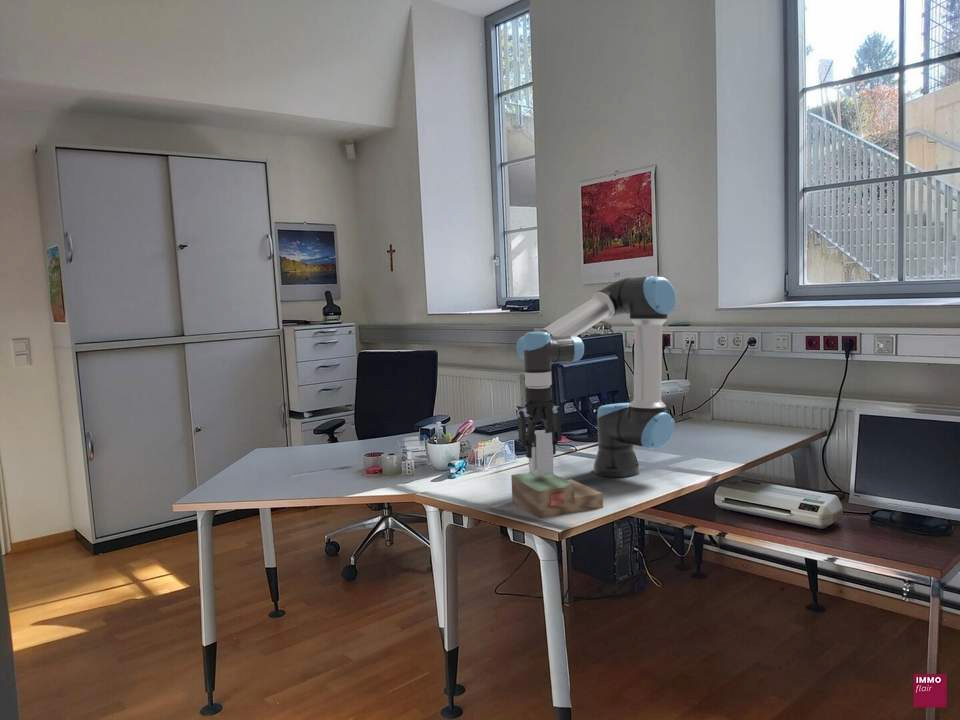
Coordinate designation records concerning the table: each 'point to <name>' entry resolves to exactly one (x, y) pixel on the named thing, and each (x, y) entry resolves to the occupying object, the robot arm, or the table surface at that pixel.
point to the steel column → (543, 453)
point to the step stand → (553, 495)
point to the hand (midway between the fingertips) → (541, 467)
